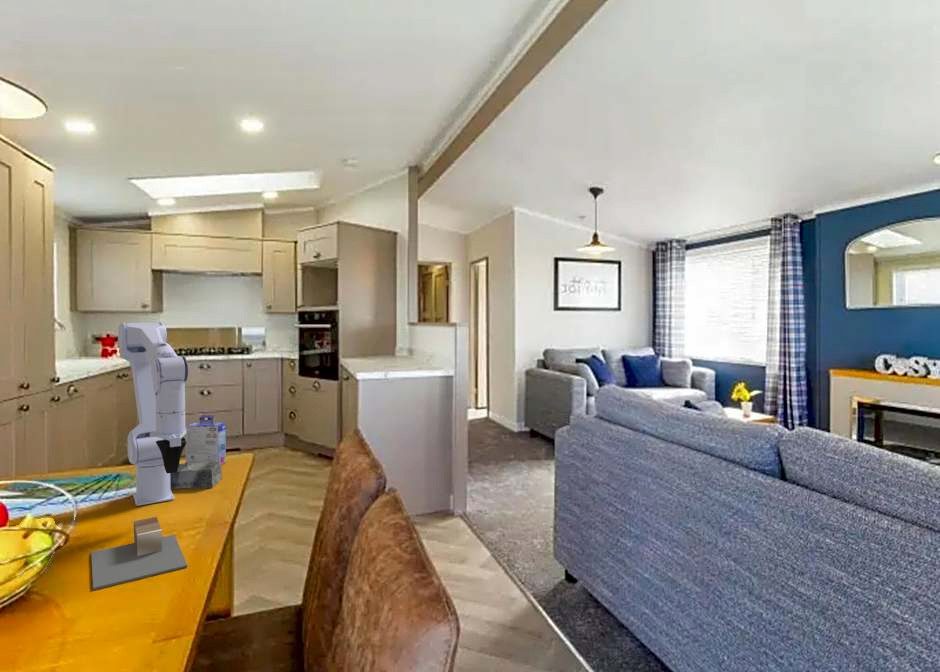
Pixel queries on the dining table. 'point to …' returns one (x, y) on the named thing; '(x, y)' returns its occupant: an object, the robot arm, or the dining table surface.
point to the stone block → (196, 475)
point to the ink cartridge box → (206, 441)
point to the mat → (134, 563)
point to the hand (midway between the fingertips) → (171, 472)
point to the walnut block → (147, 536)
